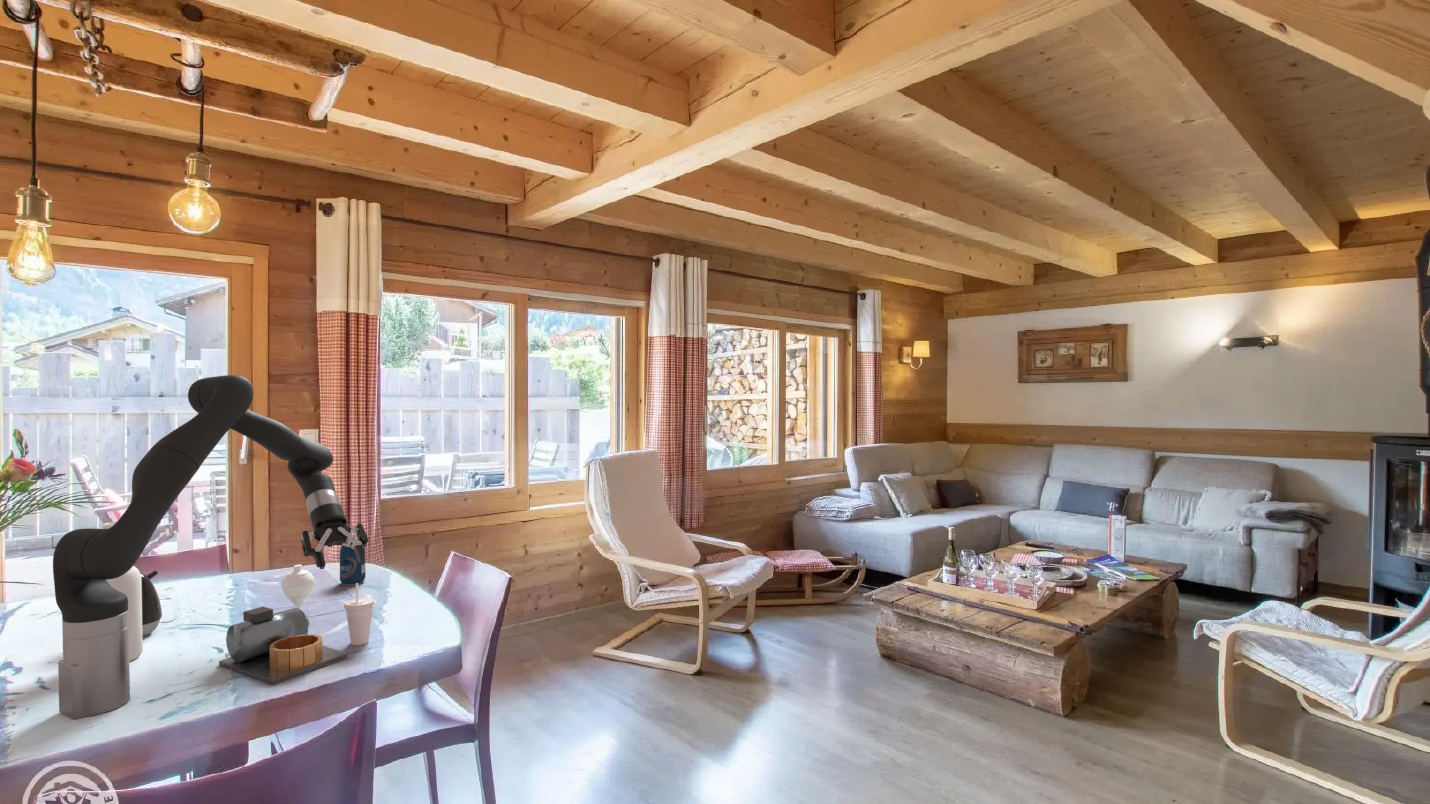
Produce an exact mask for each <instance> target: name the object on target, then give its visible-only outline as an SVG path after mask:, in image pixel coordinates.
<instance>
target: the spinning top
mask: <svg viewBox="0 0 1430 804" xmlns="http://www.w3.org/2000/svg"><path fill="white" fill-rule="evenodd" d="M315 581H316V580H315V576H314V575H313V574H312V573H311V572H310V571H309V570H305V569H303V565H302V564H295V565H293V570H291V571H290V572H288V573H286V575H285V576H284V577H283V578H282V580H281V583H280V584H281V585H280V586H281V587H280V588H281V590H282V592H283V594H284V595H285V597H287V599H288V600H289V601H290V602H291V603H292V604H293V605H294V606H295V607H296V608H299V609H300V606H301V605H303V604H304V602H305V601H306V599H307V598H308V597H309V595H310V593H311V592H312V590H313V588H314V586H315Z"/></svg>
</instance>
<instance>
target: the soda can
mask: <svg viewBox="0 0 1430 804" xmlns="http://www.w3.org/2000/svg"><path fill="white" fill-rule="evenodd" d="M354 551H355V550H354V549H352V548H351V547H347V546H345V545H344V544H342V545H341V546H340V549H339V581H340V583H341V584H342V585H343V586H356V583H358V585H359V584H363V582H364V581H365V580H366V547H365V548H363V551H364V554H365V556H364V559H363V560H362V562H361V563H358V562H357V559H356V556H355V552H354Z"/></svg>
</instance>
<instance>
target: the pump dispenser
mask: <svg viewBox="0 0 1430 804" xmlns="http://www.w3.org/2000/svg"><path fill="white" fill-rule="evenodd" d="M158 574H159V572H158V571H157V570H154V571H152V572H150V573H148V574H145V573H142V572H140V575H141V584H142V638H144V637H146V636H148V635H150V634H151V633H153V632H154V631H155V630H156V629H157V628H158V626H159V623H160V621H161V619H162V617H163V611H162V605H161V601H160V597H159V595H158V591H157V590H156V588H155V585H154V583H153V582H152V580H151V579H153V578H154V577H156V576H157V575H158Z"/></svg>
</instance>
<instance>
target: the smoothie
mask: <svg viewBox="0 0 1430 804" xmlns="http://www.w3.org/2000/svg"><path fill="white" fill-rule="evenodd" d="M375 604H376V603H375V599H374V597H373V598H372V597H366V596H365V597H359V584H358V583H356V585H355V598H351V599H348V600H346V601H345V602H344V603H343V608H344V609H345V612H346V613H345V614H346V620H347V621H346V622H347V626H348V627H347V628H348V634H349V640H350V644H351V646H363V645H365V644H367V643H369V642H370V641H369V640H370V635H371V634H370V632H371V625H372V617H373V616H372V615H373V609H374V605H375Z"/></svg>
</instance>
